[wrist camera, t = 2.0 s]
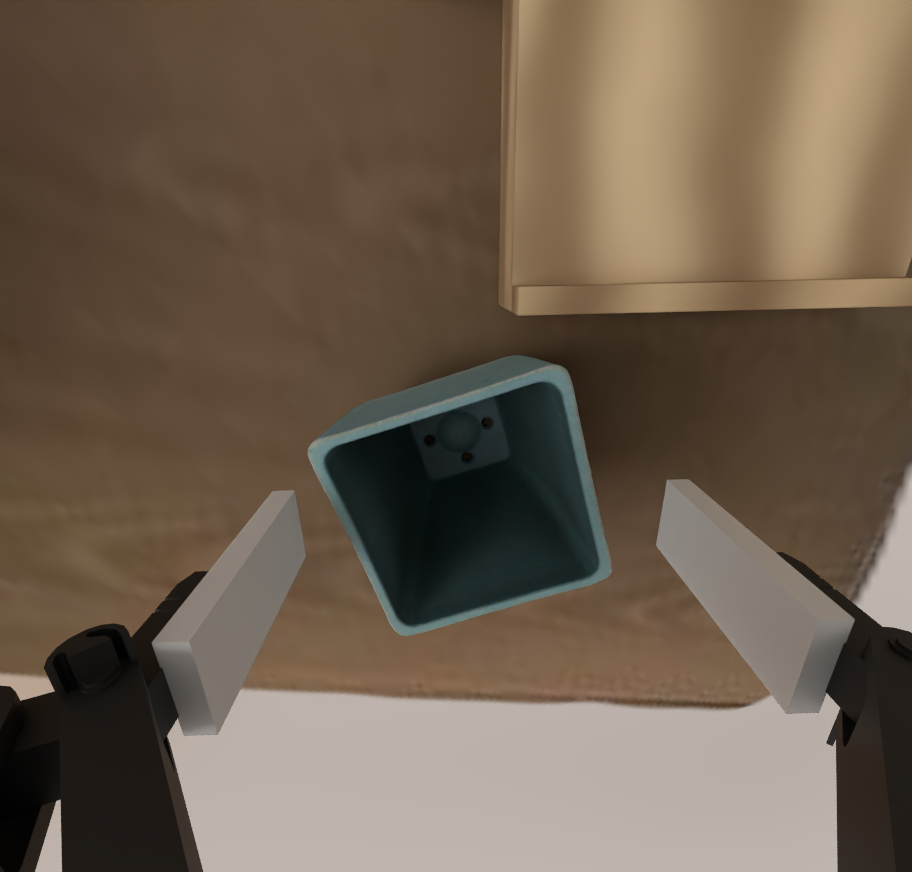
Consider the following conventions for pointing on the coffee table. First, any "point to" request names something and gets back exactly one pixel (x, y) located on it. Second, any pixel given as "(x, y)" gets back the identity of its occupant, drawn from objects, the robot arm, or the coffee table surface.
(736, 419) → the coffee table surface
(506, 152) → the board
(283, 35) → the coffee table surface
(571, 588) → the flower pot
